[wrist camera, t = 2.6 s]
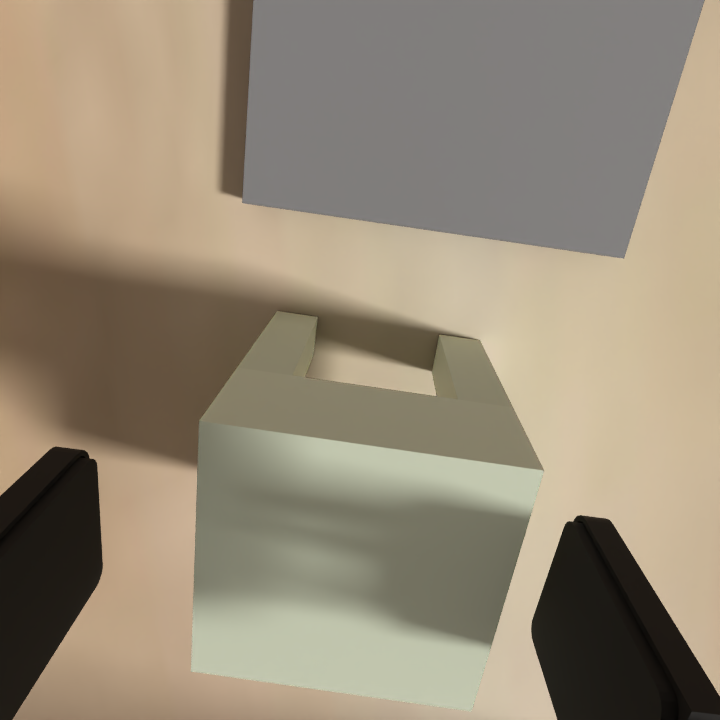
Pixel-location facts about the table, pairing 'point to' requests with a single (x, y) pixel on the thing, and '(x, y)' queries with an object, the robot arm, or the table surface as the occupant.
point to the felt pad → (465, 113)
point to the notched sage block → (357, 524)
